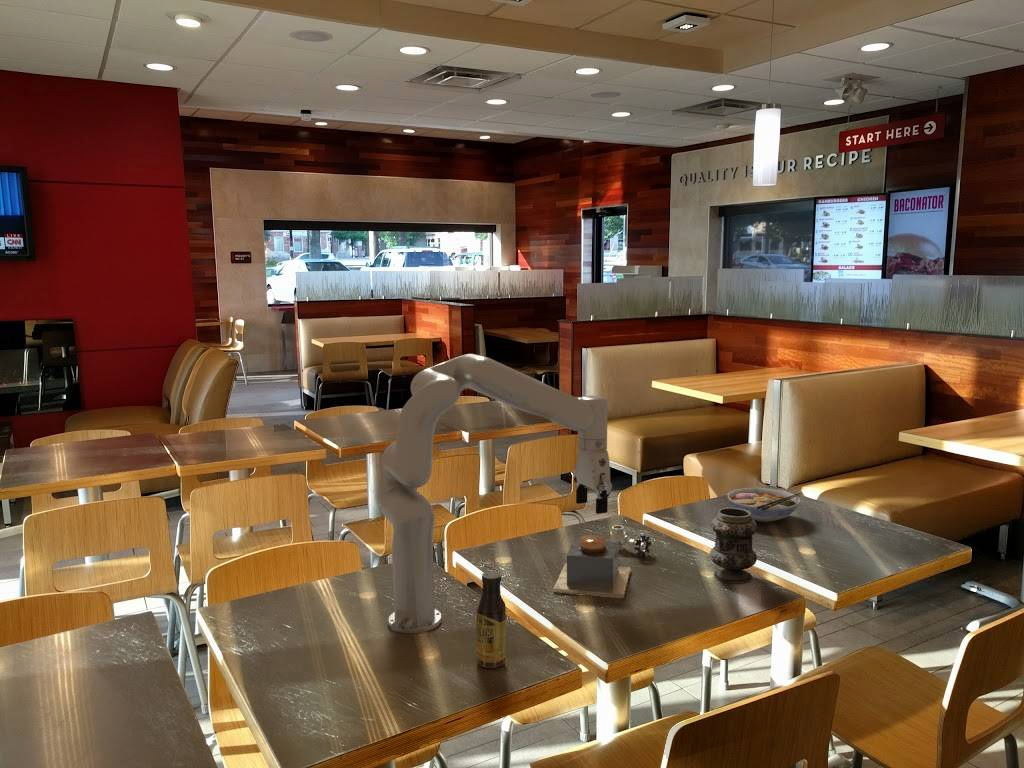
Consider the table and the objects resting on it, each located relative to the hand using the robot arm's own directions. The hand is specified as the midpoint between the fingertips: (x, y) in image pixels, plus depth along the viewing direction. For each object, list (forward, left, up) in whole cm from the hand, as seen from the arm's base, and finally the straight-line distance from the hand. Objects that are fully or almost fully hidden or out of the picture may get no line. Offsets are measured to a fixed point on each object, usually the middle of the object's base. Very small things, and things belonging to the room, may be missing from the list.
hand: (591, 507), depth 204 cm
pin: (0, 0, -18) cm, 18 cm away
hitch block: (0, 0, -20) cm, 20 cm away
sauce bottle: (-47, +15, -21) cm, 53 cm away
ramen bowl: (+62, -47, -21) cm, 81 cm away
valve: (+25, -7, -21) cm, 33 cm away
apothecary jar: (+11, -36, -21) cm, 43 cm away
